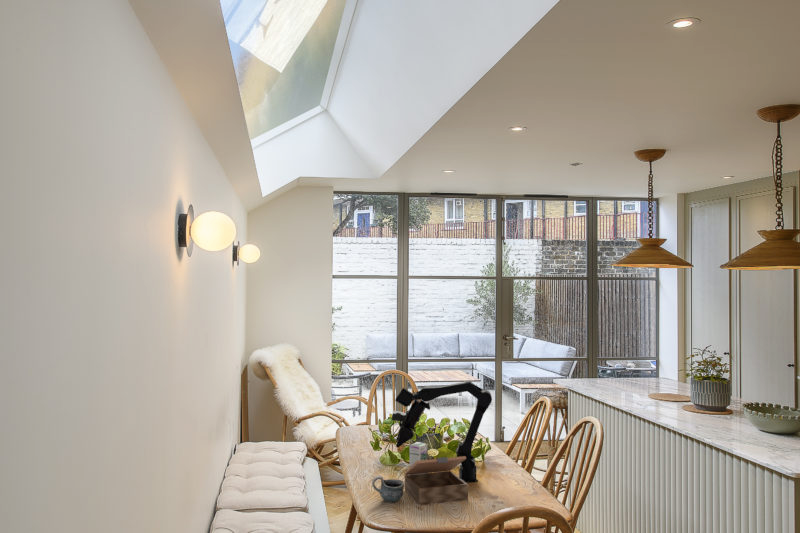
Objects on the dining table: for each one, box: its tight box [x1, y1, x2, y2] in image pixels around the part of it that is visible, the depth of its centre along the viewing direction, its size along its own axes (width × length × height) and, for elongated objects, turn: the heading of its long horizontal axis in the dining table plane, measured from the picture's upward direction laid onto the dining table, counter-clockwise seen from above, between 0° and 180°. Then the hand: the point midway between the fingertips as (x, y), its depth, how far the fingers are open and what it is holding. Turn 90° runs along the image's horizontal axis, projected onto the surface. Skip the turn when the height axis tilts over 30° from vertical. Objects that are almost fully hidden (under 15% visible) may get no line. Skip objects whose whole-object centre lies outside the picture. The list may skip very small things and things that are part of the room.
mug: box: [371, 475, 405, 503], centre depth 237 cm, size 10×12×10 cm
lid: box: [403, 456, 466, 476], centre depth 245 cm, size 20×19×2 cm
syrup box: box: [408, 441, 428, 475], centre depth 266 cm, size 6×6×14 cm
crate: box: [404, 470, 469, 506], centre depth 244 cm, size 20×18×6 cm
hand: (397, 443), depth 266 cm, fingers open, 9 cm apart
